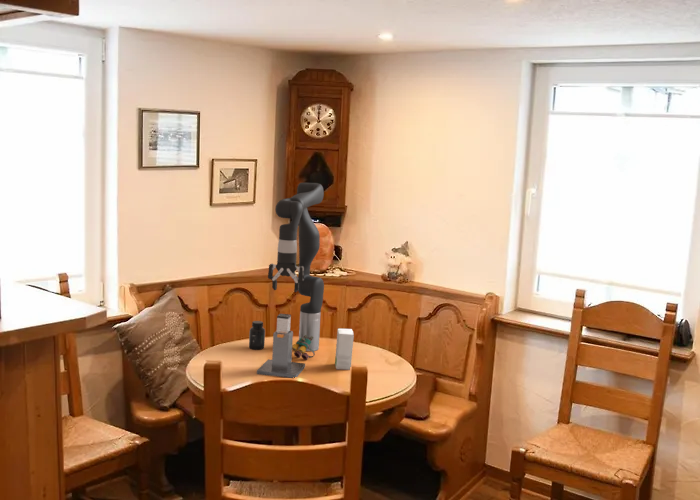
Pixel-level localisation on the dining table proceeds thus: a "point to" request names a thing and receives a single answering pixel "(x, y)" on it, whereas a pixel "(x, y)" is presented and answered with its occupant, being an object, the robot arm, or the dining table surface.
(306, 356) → the binoculars
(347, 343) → the skincare box
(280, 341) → the stand
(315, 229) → the robot arm
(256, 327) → the supplement bottle
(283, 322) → the column
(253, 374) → the dining table surface
